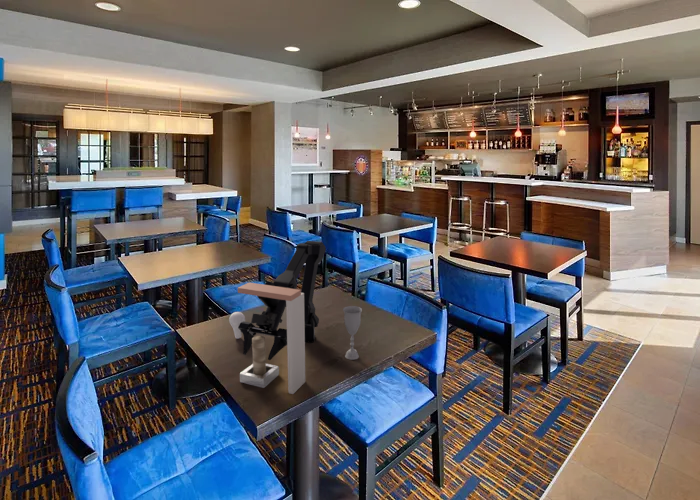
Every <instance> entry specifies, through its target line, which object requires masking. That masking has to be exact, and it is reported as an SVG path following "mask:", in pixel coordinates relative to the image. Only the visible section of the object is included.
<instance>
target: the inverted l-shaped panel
mask: <svg viewBox="0 0 700 500" xmlns="http://www.w3.org/2000/svg"><path fill="white" fill-rule="evenodd" d="M237 294H244V295H249V296H255V297H256V296H262V297H268V298H274V299H281V300H286V307H285V309H286V313H285V314H286V329H287V345H286V347H287V348H286V349H287V384H288V385H287V387H288V390H287V391H288V394H290V395H291V394H292V395H294V394H295V393H296V392H297V391H298V390H299V389H300V388H301V387H302V385H304V384H305V383H306V342H305V321H304V293H301V289H298V288H296V289H291V288H284V287H277V286H270V285H264V284H262V283H255V282H247V283H245V284H242V285H240V286H238V287H237Z"/></svg>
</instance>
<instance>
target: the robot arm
mask: <svg viewBox="0 0 700 500" xmlns="http://www.w3.org/2000/svg"><path fill="white" fill-rule="evenodd" d="M326 249H327V247H326V245H325V244H324V242H321V241H313V240H307V241H306V242H304V243H301V242H300V243H298V244H297V245H296V247H295V251H294V254H293V256H292V257H291V259H290V261H289V263H288V264H287V266H286V268H285V271H283V272H282V273H281V274H279V275H278V276H277V277H276V278H275V279H274V281H269V280H267V281H266V282H265V284H263V285H270V286H277V287H284V288H291V289H297V287H298V281H297V280H298V277H299V275H300V273H301V271H302V269H303V267H304V271H303V278H302V285H301V289H300V290H301V293H304V321H305V343H315V339H316V333H315V331H316V330H315V328H317V327H318V325H319V323H320V318H319V317H318V316H317V314H316V307H315V305H314V302H313V301H314V300H313V299H314V294H315V286H316V279H317V275H318V273H317V272H318V267H319V265H320V263H321V262H322V260H323V259H324V257H325V256H324V255H325V254H326ZM257 298H258V299H259V300H260V301H261V302H262V304H263V305H265V306H266V309H265V310H263V311H262V312H261V314H259V313H255V312H253V313H252V316H251V322H248V321H245V322H244V321H243V322H241V323H240V324H239V326H238V329H239V330H241V334H243V353H242V354H243V356H246V355H247V354H248V352H249V351H250V350H251V349H250V348H252V347H251V346H252V338H253V337H255V336H257V334H259V335H262V336H264V335H265V336H270V337H274V338H273V344H272V346H271V350H270V351H269V354H268V357H267V360H269V361H271V360H272V359H273V358H274V357H275V356H276V355H277V354H278V353H280V352H281V350H283V349H284V348H285V347H287V328H278V327H279V325H280V324H282V322H283V319H282V318H283V316H284V311H285V309H286V300H281V299H274V298H268V297H262V296H257ZM254 324H255V325H256V326H255V325H254ZM257 326H258V327H257Z"/></svg>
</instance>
